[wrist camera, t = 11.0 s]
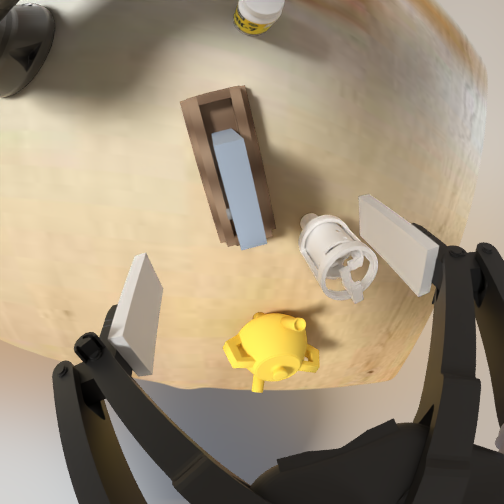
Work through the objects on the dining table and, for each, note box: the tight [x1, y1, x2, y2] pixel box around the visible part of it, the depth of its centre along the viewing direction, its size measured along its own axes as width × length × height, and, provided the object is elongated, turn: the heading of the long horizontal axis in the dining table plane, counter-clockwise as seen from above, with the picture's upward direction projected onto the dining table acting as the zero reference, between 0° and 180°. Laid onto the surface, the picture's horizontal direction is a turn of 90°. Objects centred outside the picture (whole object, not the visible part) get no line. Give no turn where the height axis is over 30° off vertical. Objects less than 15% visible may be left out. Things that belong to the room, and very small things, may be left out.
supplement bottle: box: [233, 0, 285, 36], centre depth 21 cm, size 5×5×8 cm
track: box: [180, 85, 276, 247], centre depth 33 cm, size 20×8×3 cm, turn 12°
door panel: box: [211, 128, 267, 250], centre depth 29 cm, size 10×3×12 cm, turn 12°
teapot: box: [223, 312, 319, 393], centre depth 46 cm, size 20×18×11 cm
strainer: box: [298, 213, 378, 304], centre depth 34 cm, size 7×7×15 cm
